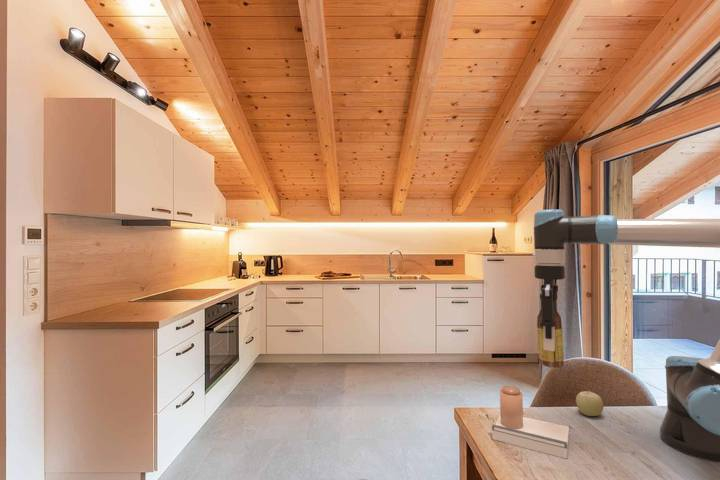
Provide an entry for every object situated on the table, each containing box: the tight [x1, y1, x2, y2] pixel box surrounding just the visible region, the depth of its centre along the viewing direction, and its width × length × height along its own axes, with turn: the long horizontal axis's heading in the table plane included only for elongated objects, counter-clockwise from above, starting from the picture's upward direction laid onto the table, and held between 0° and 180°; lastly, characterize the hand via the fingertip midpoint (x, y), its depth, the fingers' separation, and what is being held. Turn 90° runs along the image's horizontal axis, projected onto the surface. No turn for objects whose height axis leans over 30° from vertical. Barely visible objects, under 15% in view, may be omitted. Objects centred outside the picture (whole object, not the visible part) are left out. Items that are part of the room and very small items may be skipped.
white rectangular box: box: [491, 415, 570, 459], centre depth 100 cm, size 18×13×4 cm
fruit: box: [575, 389, 604, 417], centre depth 113 cm, size 8×7×8 cm
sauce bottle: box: [536, 292, 565, 369], centre depth 100 cm, size 7×6×20 cm
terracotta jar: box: [499, 385, 524, 429], centre depth 102 cm, size 6×6×10 cm
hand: (550, 347), depth 99 cm, fingers closed on sauce bottle, 6 cm apart
